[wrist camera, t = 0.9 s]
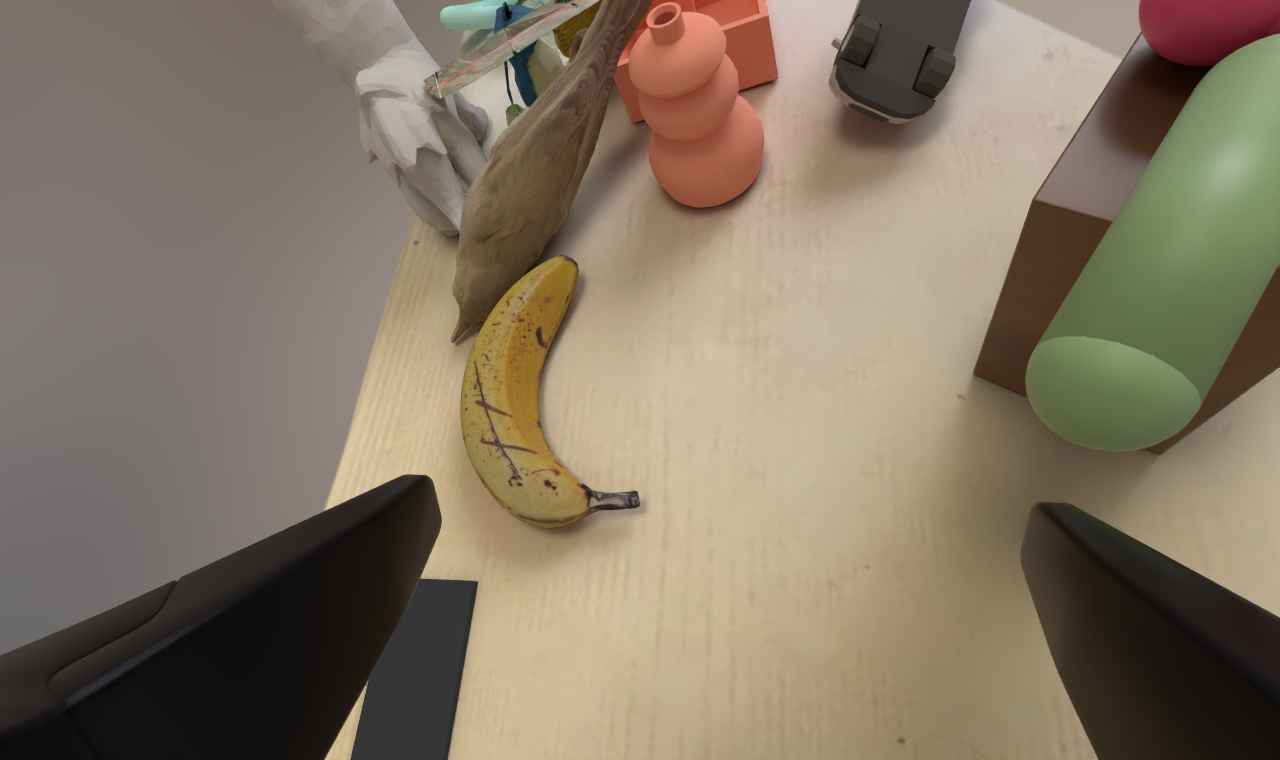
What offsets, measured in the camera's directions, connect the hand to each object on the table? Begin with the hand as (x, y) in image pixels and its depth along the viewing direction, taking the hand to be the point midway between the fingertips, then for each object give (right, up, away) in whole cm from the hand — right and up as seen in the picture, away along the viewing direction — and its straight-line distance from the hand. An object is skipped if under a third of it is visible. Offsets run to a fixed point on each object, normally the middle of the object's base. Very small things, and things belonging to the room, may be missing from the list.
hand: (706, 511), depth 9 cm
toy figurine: (-7, +22, +34) cm, 41 cm away
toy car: (+13, +22, +20) cm, 33 cm away
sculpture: (-8, +16, +28) cm, 33 cm away
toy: (-13, +17, +35) cm, 41 cm away
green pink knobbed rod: (+13, +6, +6) cm, 15 cm away
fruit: (-6, +1, +24) cm, 25 cm away
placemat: (-12, -13, +20) cm, 26 cm away
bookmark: (-5, +25, +28) cm, 38 cm away
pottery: (+3, +20, +29) cm, 36 cm away
